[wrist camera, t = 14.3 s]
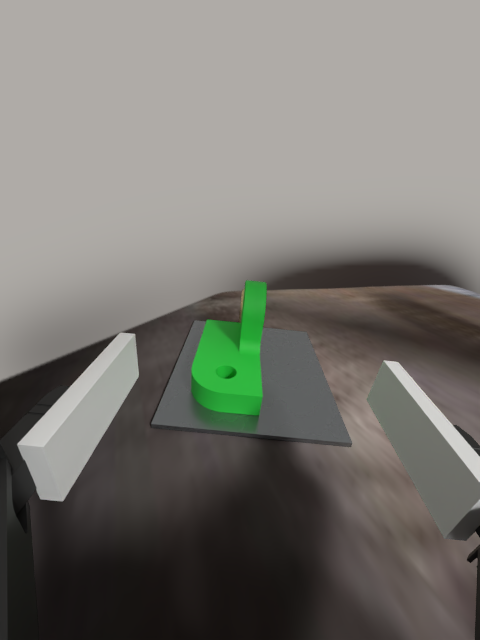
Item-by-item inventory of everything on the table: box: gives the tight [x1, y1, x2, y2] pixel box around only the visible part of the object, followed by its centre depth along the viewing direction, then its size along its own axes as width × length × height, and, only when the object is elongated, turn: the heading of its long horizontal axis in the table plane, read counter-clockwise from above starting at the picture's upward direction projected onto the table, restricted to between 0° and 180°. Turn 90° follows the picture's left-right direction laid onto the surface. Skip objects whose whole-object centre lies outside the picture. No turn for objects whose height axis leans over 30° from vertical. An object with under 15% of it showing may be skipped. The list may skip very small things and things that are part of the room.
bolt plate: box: [151, 289, 352, 447], centre depth 26 cm, size 15×17×6 cm
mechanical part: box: [191, 281, 267, 416], centre depth 24 cm, size 12×6×8 cm, turn 178°
